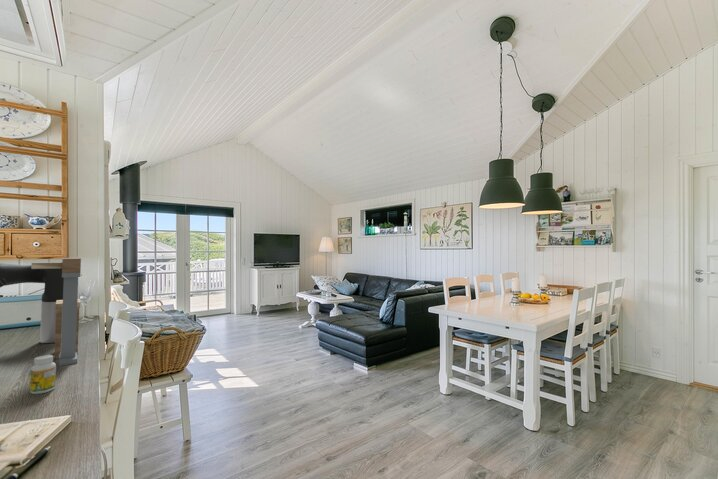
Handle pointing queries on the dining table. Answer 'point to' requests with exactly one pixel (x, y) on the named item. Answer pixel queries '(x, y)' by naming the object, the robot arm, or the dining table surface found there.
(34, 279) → the robot arm
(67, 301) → the stand
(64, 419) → the dining table surface
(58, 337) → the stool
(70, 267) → the mallet
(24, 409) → the dining table surface
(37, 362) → the supplement bottle
